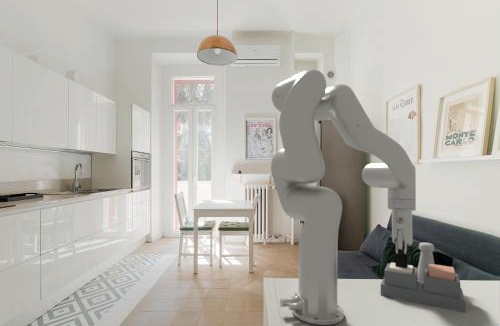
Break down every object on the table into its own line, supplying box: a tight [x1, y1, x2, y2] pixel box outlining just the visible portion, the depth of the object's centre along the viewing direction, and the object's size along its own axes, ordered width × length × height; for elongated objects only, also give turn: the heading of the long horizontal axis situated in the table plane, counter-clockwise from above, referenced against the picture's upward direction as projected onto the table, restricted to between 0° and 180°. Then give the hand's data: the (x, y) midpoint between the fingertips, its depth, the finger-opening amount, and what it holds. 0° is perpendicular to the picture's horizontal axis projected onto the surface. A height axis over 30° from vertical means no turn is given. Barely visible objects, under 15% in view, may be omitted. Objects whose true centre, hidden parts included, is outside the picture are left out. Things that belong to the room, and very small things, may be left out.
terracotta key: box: [429, 263, 456, 281], centre depth 84 cm, size 6×6×4 cm
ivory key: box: [389, 262, 414, 274], centre depth 89 cm, size 6×6×4 cm
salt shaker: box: [417, 242, 435, 281], centre depth 97 cm, size 6×6×13 cm
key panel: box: [380, 262, 466, 313], centre depth 86 cm, size 20×10×7 cm, turn 59°
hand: (401, 266), depth 89 cm, fingers closed
